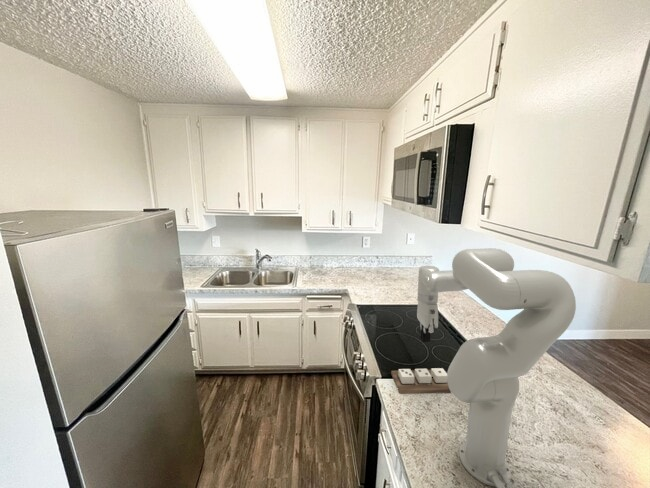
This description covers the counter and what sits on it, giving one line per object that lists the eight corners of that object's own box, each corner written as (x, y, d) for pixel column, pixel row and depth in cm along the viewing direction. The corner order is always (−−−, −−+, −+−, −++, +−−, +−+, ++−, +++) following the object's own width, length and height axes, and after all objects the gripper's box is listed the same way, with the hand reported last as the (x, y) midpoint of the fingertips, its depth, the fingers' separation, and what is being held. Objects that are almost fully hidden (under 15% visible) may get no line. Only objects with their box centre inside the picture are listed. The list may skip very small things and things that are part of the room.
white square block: (414, 383, 104) (414, 376, 104) (402, 383, 104) (402, 376, 104) (409, 375, 109) (410, 368, 109) (398, 375, 109) (398, 368, 109)
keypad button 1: (448, 382, 105) (448, 375, 104) (436, 382, 105) (436, 375, 104) (442, 374, 110) (442, 367, 109) (430, 374, 110) (431, 367, 109)
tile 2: (431, 382, 105) (431, 375, 104) (419, 383, 105) (419, 376, 104) (426, 374, 110) (426, 368, 109) (414, 375, 109) (414, 368, 109)
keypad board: (457, 392, 102) (457, 389, 101) (399, 393, 101) (399, 390, 101) (442, 372, 114) (443, 369, 113) (391, 373, 113) (391, 370, 113)
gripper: (446, 304, 94) (443, 350, 97) (428, 290, 109) (426, 331, 112) (426, 304, 94) (423, 351, 97) (411, 290, 109) (409, 331, 112)
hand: (425, 340), depth 104 cm, fingers closed
